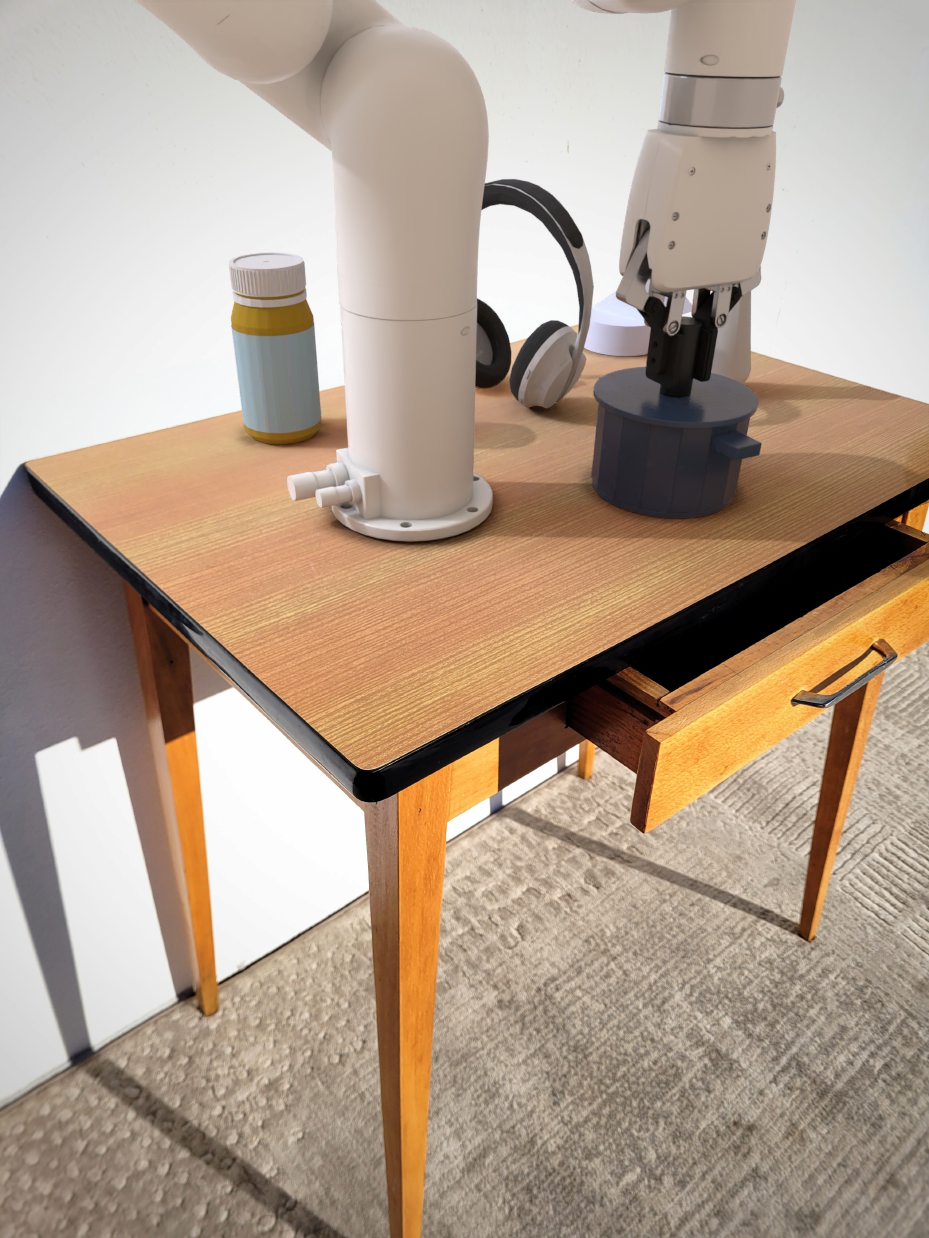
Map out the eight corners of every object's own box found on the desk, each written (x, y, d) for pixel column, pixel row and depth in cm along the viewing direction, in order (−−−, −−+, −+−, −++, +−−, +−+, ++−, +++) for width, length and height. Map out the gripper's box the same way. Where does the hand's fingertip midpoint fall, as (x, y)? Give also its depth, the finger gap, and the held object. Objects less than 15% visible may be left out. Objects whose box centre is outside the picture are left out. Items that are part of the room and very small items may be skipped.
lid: (659, 448, 65) (673, 355, 61) (561, 392, 74) (568, 309, 71) (791, 419, 70) (810, 332, 66) (684, 371, 79) (696, 292, 76)
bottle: (302, 412, 89) (287, 248, 80) (335, 436, 84) (323, 264, 75) (233, 426, 85) (211, 256, 77) (263, 452, 81) (242, 274, 72)
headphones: (606, 411, 90) (629, 188, 79) (549, 434, 85) (565, 199, 74) (467, 365, 101) (470, 164, 90) (410, 382, 96) (406, 172, 85)
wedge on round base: (631, 322, 116) (564, 343, 108) (637, 267, 112) (569, 284, 105) (691, 338, 111) (626, 361, 103) (700, 280, 107) (633, 300, 99)
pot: (672, 546, 67) (688, 450, 63) (547, 461, 80) (553, 377, 76) (789, 514, 72) (810, 423, 68) (654, 438, 85) (665, 357, 80)
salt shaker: (742, 382, 98) (766, 253, 91) (751, 401, 93) (777, 267, 86) (686, 379, 98) (706, 251, 91) (692, 398, 94) (713, 264, 86)
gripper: (767, 100, 67) (723, 352, 77) (584, 105, 60) (562, 379, 70) (848, 109, 61) (789, 379, 71) (656, 116, 55) (621, 411, 65)
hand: (677, 377), depth 71 cm, fingers closed on lid, 2 cm apart
